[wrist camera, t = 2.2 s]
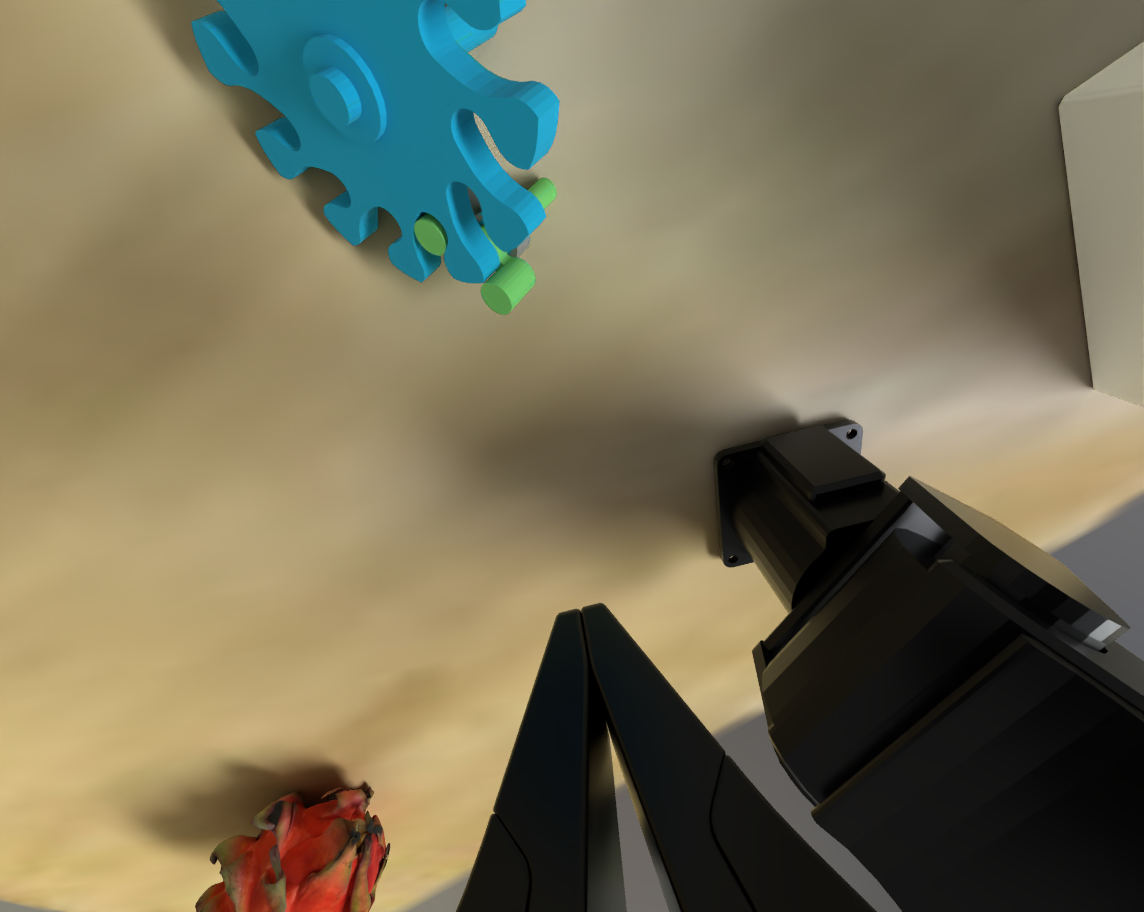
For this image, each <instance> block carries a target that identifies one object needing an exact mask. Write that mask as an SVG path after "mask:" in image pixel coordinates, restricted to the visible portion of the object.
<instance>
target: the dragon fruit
mask: <svg viewBox="0 0 1144 912" xmlns="http://www.w3.org/2000/svg"><path fill="white" fill-rule="evenodd" d="M354 788H355V787H354ZM357 788H358V787H357ZM351 789H352V788H351ZM351 789H350V791H346V790H347V789H343V788H341V787H338V788H335V789H334V790H330V791H328V792H327V793H326V794H325V795H323V796H322V797H321V798H319V799H322V798H324V797H326V796H328V795H331V794H334V795H333V796H331V797H329V796H328V797H329V799H328V802H325V803H321V804H317V805H315V806H312V807H310V808H308V809H305V807H304V806H303V802H302V800H301V798H300V796H299V795H298V794H297V793H296V792H293V793H290V794H288V795H285V796H283V797H282V798H280V799H278V800H277V801H275V802H273V803H271V804H269V805H268V806H267V807H266V808H265V809H264V810H262V811H261V812H260V813H258V814H257V815H256V816H255V817H253V819H252V820H251V823H252V824H253V825H254V826H255V827H257V828H259V829H262V830H261V832H260V834H259V835H258V836H257V838H256V837H247V836H244V835H238V836H235V837H232V838H229V839H227V840H225V841H223V842H222V843H220V844H219V845H218V846H217V847H216V848H215V850H214V851H213V852H212V854H211V856H210V861H211V862H212V864H215V863H216V861H217V859H218V860H219V862H220V864H221V871H220V874H221V875H222V878H223V882H221V883H218V884H215V885H212V886H211V887H209V888H208V889H207V890H206V891H205V892H204V893H203V895H202V896H201V897H200V898H199V900H198V901H197V903H196V905H195V907H196V912H369V910H370V908H371V906H372V904H373V903H374V900H375V891H376V887H377V883H378V881H379V879H380V877H381V874H382V872H383V870H384V868H385V866H386V863H387V859H388V858H387V855H389V851H390V843H388V845H387V848H386V845H385V838H384V832H383V828H382V826H381V823H380V821H379V818H378V816H377V815H374V816H373V817H372V818H371V817H370V815H369V812H368V811H367V812H366V814H365V810H366V808H367V807H368V805H369V804H370V802H369V801H370V798H371V797H372V796H373V794H374V791H373V790H372V789H371V787H370V786H369V788H368V789H367V790H365V792H363V790H361V789H355V790H351ZM344 790H345V791H344ZM383 857H384V858H383ZM386 858H387V859H386Z"/></svg>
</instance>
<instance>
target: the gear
mask: <svg viewBox="0 0 1144 912" xmlns="http://www.w3.org/2000/svg"><path fill="white" fill-rule="evenodd" d="M217 1H218V3H219V4H220V5H221V6H222V7H223V8H224V10H225V11H226V12H225V11H218V12H215V13H212V14H210V15H207V16H205V17H202V18H199V19H197V20H194V21H192V22H191V23H192V28H193V33H194V36H195V39H196V42H197V45H198V47H199V50H200V52H201V55H202V57H203V59H204V61H205V63H206V66H207V68H208V70H209V71H210V73H211V74H212V75H213V76H214V77H215V78H217V79H218V80H219V81H220V82H222V83H223V84H225V85H228V86H234V85H238V86H243V87H245V88H248V89H250V90H252V91H254V92H255V93H257V94H259V95H260V96H262V97H263V98H264V99H266V100H267V101H268V102H269V103H271V104H272V105H273V106H274V107H275V108H277V109H278V110H279V111H280V112H281V113H282V114H283V115H285V116H286V117H287V118H285V117H282V118H279V119H277V120H276V121H274V122H272V123H270V124H268V125H266V126H265V127H263V128H261V129H259V130H258V131H256V134H255V135H256V137H257V139H258V141H259V143H260V145H261V147H262V148H263V150H264V152H265V154H266V155H267V157H268V158H269V160H270V161H271V163H272V164H273V165H274V167H275V168H276V170H277V171H278V173H279V174H280V175H281V176H283V177H284V178H287V179H293V178H295V177H296V176H298V175H299V174H301V173H303V172H304V171H306V170H307V169H309V168H310V167H316V168H319V169H322V170H326V171H328V172H331V173H332V174H334V175H335V176H336V177H337V178H338V179H339V180H340V181H341V182H342V183H343V184H344V186H345V187H346V189H347V190H346V191H345V192H343V193H342V194H341V195H339V196H338V197H336V198H335V199H333V200H332V201H330V202H329V203H328V204H326V205H325V206H324V215H325V216H326V217H327V219H328V220H329V222H330V223H331V224H332V225H333V226H334V227H335V229H336V230H337V231H338V232H339V233H340V234H341V235H342V236H343V237H344V238H345V239H346V240H348V241H349V242H350V243H351V244H352V245H358V244H360V243H361V242H362V241H364V240H365V239H366V238H367V237H369V236H370V235H371V234H372V233H374V232H375V231H376V230H377V229H378V217H377V216H378V208H379V207H381V208H384V209H385V210H387V211H388V212H389V213H390V214H391V215H392V216H393V217H394V218H395V219H396V221H397V222H398V224H399V226H400V228H401V232H402V236H401V237H400V238H399V239H397V240H396V241H395V242H394V243H393V244H391V245H390V246H389V249H388V254H389V258H390V260H391V262H392V264H393V265H394V266H396V267H397V268H398V269H399V270H401V271H402V272H403V273H405V274H407V275H408V276H410V277H412V278H414V279H416V280H418V281H419V282H421V283H422V282H423V281H424V280H425V279H426V278H427V277H428V276H429V275H431V274H432V273H433V272H434V271H435V270H436V269H437V268H438V267H439V266H440V264H441V255H443V254H444V253H445V254H444V261H445V265H446V267H447V269H448V271H449V273H450V274H451V275H452V277H453V278H454V279H456V280H459V281H462V282H466V283H484V282H485V281H486V280H487V279H488V278H489V277H490V276H491V275H492V274H493V273H494V272H495V271H496V272H495V273H494V274H493V275H492V276H491V277H490V278H489V279H488V280H487V281H486V282H485V283H484V284H483V285H482V287H481V295H482V298H483V300H484V302H485V303H486V304H487V305H488V307H489V308H491V309H492V310H493V311H495V312H496V313H499V314H503V315H506V314H508V313H510V312H511V310H512V309H513V308H514V307H515V306H516V305H517V304H518V303H519V302H520V300H521V299H522V298H523V297H524V296H525V295H526V294H527V293H528V292H529V290H530V289H531V288H532V287H533V286H534V284H535V281H536V278H535V274H534V271H533V270H532V268H531V267H530V265H529V264H528V263H527V262H525V261H524V260H523V259H520V258H518V257H519V256H520V255H521V254H522V253H523V252H524V251H525V250H526V249H527V248H528V246H529V242H530V234H531V233H532V232H533V231H534V230H535V229H536V228H537V227H538V226H539V225H540V224H541V222H542V221H543V220H544V219H545V218H546V214H545V211H544V209H545V208H546V207H547V206H548V205H549V204H550V203H551V202H552V201H553V200H554V199H555V198H556V194H557V192H556V188H555V186H554V184H553V183H552V181H550V180H549V179H547V178H541V179H539V180H538V181H537V182H536V183H535V184H534V185H533V186H532V187H531V188H529V189H528V190H527V189H525V188H523V187H522V186H520V185H519V184H518V183H517V182H516V181H514V180H513V179H512V178H511V177H510V176H509V175H508V174H507V173H506V172H505V171H504V170H503V169H502V167H501V166H500V165H499V163H498V162H497V161H496V159H495V158H494V156H493V155H492V153H491V151H490V150H489V148H488V146H487V145H486V143H485V141H484V139H483V137H482V135H481V133H480V131H479V129H478V127H477V125H476V123H475V119H474V114H473V112H474V113H475V114H477V115H478V116H479V117H480V118H481V120H482V121H483V122H484V124H485V125H486V127H487V129H488V131H489V133H490V134H491V136H492V138H493V140H494V142H495V144H496V146H497V148H498V149H499V151H500V153H501V154H502V155H503V156H504V158H505V159H506V160H507V161H509V162H510V163H511V164H512V165H514V166H516V167H518V168H520V169H526V170H528V169H530V168H531V167H532V166H533V165H534V164H535V163H536V162H537V161H539V160H540V159H541V158H542V157H543V156H544V155H545V154H546V153H548V151H549V149H550V147H551V146H552V144H553V141H554V137H555V134H556V129H557V123H558V113H559V102H560V101H559V99H558V98H557V97H556V95H555V94H554V93H553V92H552V91H551V90H550V89H549V88H548V87H547V86H545V85H544V84H542V83H540V82H535V81H528V82H517V81H510V80H507V79H505V78H502V77H499V76H497V75H495V74H494V73H492V72H490V71H489V70H487V69H486V68H485V67H483V66H482V65H481V64H480V63H478V62H477V61H476V60H475V59H474V58H473V57H472V56H471V55H470V54H469V53H468V52H469V51H471V50H472V49H474V48H476V47H477V46H479V45H480V44H482V43H484V42H485V41H487V40H489V39H490V38H492V37H493V36H494V35H495V33H496V31H497V27H498V25H499V24H500V23H502V22H504V21H505V20H507V19H509V18H510V17H512V16H514V15H515V14H517V13H519V12H520V11H521V10H522V9H523V8H524V7H525V6H526V0H217ZM445 3H446V4H447V6H445Z"/></svg>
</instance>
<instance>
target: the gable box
mask: <svg viewBox="0 0 1144 912" xmlns="http://www.w3.org/2000/svg"><path fill="white" fill-rule="evenodd" d="M1059 115H1060V124H1061V132H1062V140H1063V148H1064V156H1065V164H1066V172H1067V180H1068V188H1069V196H1070V204H1071V212H1072V220H1073V228H1074V236H1075V244H1076V252H1077V260H1078V268H1079V276H1080V284H1081V292H1082V300H1083V308H1084V316H1085V324H1086V332H1087V340H1088V348H1089V356H1090V364H1091V372H1092V380H1093V388H1094V390H1096V391H1099V392H1102V393H1105V394H1108V395H1111V396H1113V397H1116V398H1119V399H1122V400H1125V401H1128V402H1131V403H1133V404H1136V405H1139V406H1142V407H1144V41H1143V42H1142V43H1141V44H1139V45H1138V46H1136V47H1135V48H1133V49H1132V50H1130V51H1129V52H1127V53H1126V54H1125V55H1123V56H1122V57H1120V58H1119V59H1117V60H1116V61H1114V62H1113V63H1112V64H1110V65H1109V66H1107V67H1106V68H1104V69H1103V70H1101V71H1100V72H1098V73H1097V74H1096V75H1094V76H1093V77H1091V78H1090V79H1088V80H1087V81H1085V82H1084V83H1083V84H1081V85H1080V86H1078V87H1077V88H1075V89H1074V90H1072V91H1071V92H1069V93H1068V94H1067V95H1065V96H1064V98H1063V99H1062V100H1061V103H1060V104H1059Z"/></svg>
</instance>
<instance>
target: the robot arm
mask: <svg viewBox="0 0 1144 912" xmlns="http://www.w3.org/2000/svg"><path fill="white" fill-rule="evenodd" d="M851 429H852V430H851ZM849 430H851V432H850V433H849V434H847V432H848V431H849ZM846 434H847V435H846ZM862 435H863V428H862V427H861V425H859V424H858V423H857V422H855V421H853V420H845V421H841V422H837V423H833V424H829V425H825V426H821V425H818V426H814V427H809V428H805V429H801V430H797V431H793V432H789V433H785V434H781V435H776V436H772V437H768V438H766V439H764V440H763V441H759V442H755V443H751V444H747V445H742V446H738V447H734V448H730V449H726V450H723V451H720V452H719V453H718V454H717V455H716V456H715V458H714V476H715V490H716V504H717V518H718V532H719V546H720V557H721V560H722V561H723V563H724V565H725V566H727V567H736V566H740V565H744V564H748V563H752V562H755V564H756V565H757V567H758V568H759V570H760V571H761V573H762V574H763V576H764V577H765V579H766V580H767V582H768V583H769V585H770V586H771V588H772V589H773V591H774V592H775V594H776V595H777V597H778V598H779V600H780V601H781V603H782V604H783V606H784V607H785V609H786V610H787V612H788V613H789V614H788V615H787V616H786V617H785V619H784V620H783V621H782V622H781V623H780V624H779V625H778V626H777V627H776V629H775V630H774V631H773V632H772V633H771V634H770V635H769V636H768V637H767V638H766V640H765V641H762V640H761V641H760V642H759V643H758V644H757V645H756V646H755V648H754V649H753V650H752V653H753V658H754V663H755V668H756V672H757V677H758V682H759V686H760V691H761V696H762V700H763V705H764V710H765V714H766V719H767V724H768V733H769V737H770V741H771V743H772V744H773V747H774V750H775V752H776V754H777V757H778V759H779V762H780V764H781V765H782V767H783V768H784V769H785V771H786V772H787V774H788V776H789V777H790V779H791V780H792V781H793V783H794V784H795V785H796V786H797V788H798V789H799V790H800V791H801V793H802V794H803V795H804V796H805V797H806V798H807V799H808V800H809V801H810V802H811V803H812V804H813V805H814V806H815V808H813V809H812V811H811V814H812V817H813V819H814V821H815V822H816V823H817V824H818V825H819V826H820V827H821V828H823V829H824V830H825V831H826V832H828V833H829V834H830V835H831V836H832V837H834V838H835V839H836V840H837V841H838V842H840V843H841V844H842V845H844V846H845V847H846V848H847V849H848V850H849V851H850V852H851V853H852V854H853V855H854V856H855V857H856V858H857V859H858V860H859V861H860V862H861V863H862V864H863V866H864V867H865V868H866V869H867V870H868V871H869V872H870V873H871V874H872V875H873V876H874V877H875V878H876V879H877V880H878V881H879V883H880V884H881V885H882V887H883V888H884V889H885V890H886V891H887V893H888V894H889V895H890V896H891V898H892V899H893V900H894V901H895V902H896V904H897V905H898V907H899V908H900V909H901V910H902V912H1144V661H1143V660H1142V659H1140V658H1139V657H1137V656H1136V655H1134V654H1133V653H1131V652H1130V651H1129V650H1127V649H1126V648H1124V647H1123V646H1121V645H1120V644H1119V643H1117V642H1116V641H1115V640H1116V639H1117V638H1119V637H1120V636H1121V635H1122V634H1124V633H1125V632H1126V631H1128V630H1129V629H1130V628H1131V627H1130V626H1129V625H1128V624H1127V623H1126V622H1125V621H1124V620H1123V619H1122V618H1121V617H1120V616H1119V615H1118V614H1116V613H1115V612H1114V611H1113V610H1112V609H1111V608H1110V607H1109V606H1108V605H1107V604H1106V603H1105V602H1103V601H1102V600H1101V599H1100V598H1099V597H1098V596H1097V595H1096V594H1095V593H1094V592H1093V591H1092V590H1090V588H1088V587H1087V586H1086V585H1085V584H1084V583H1083V582H1082V581H1081V580H1080V579H1079V578H1078V577H1077V576H1075V575H1074V574H1073V573H1072V572H1071V571H1070V570H1069V569H1068V568H1067V567H1066V566H1065V565H1064V564H1062V563H1061V562H1060V561H1058V560H1056V559H1055V558H1054V557H1052V556H1051V555H1049V554H1047V553H1046V552H1044V551H1043V550H1041V549H1040V548H1038V547H1037V546H1035V545H1034V544H1032V543H1030V542H1029V541H1027V540H1026V539H1024V538H1023V537H1021V536H1020V535H1018V534H1017V533H1015V532H1013V531H1012V530H1010V529H1009V528H1007V527H1006V526H1004V525H1003V524H1001V523H1000V522H998V521H996V520H995V519H993V518H991V517H989V516H987V515H985V514H983V513H981V512H979V511H977V510H975V509H973V508H972V507H970V506H968V505H966V504H964V503H962V502H960V501H958V500H956V499H954V498H952V497H950V496H948V495H946V494H944V493H942V492H940V491H939V490H937V489H935V488H933V487H931V486H929V485H927V484H925V483H923V482H921V481H919V480H917V479H915V478H913V477H911V476H909V477H908V478H907V479H906V480H905V482H904V483H903V484H902V485H901V486H900V487H899V488H898V489H899V490H900V491H898V490H897V489H896V488H895V487H893V486H892V485H891V484H889V483H888V482H887V481H886V480H885V477H886V474H885V473H884V472H883V471H881V470H880V469H879V468H877V467H876V466H875V465H873V464H872V463H871V462H870V461H868V460H867V459H866V458H864V457H863V456H862V455H861V445H862ZM727 459H730V461H729V462H728V463H727V464H725V465H723V462H724V461H725V460H727ZM733 555H734V556H733ZM731 556H733V557H732V558H730V557H731ZM608 729H609V732H608ZM609 733H610V736H611V739H612V743H613V746H614V749H615V752H616V755H617V758H618V761H619V764H620V767H621V770H622V773H623V776H624V779H625V782H626V785H627V788H628V791H629V794H630V797H631V800H632V803H633V806H634V808H635V812H636V814H637V817H638V820H639V823H640V826H641V829H642V832H643V835H644V838H645V841H646V844H647V847H648V850H649V853H650V856H651V859H652V862H653V865H654V868H655V871H656V874H657V877H658V880H659V883H660V886H661V889H662V892H663V895H664V898H665V900H666V903H667V906H668V909H669V912H876V910H875V909H873V908H872V907H871V906H870V905H869V904H868V903H867V902H866V901H865V900H864V899H863V898H862V897H861V896H860V895H859V894H858V893H857V892H856V891H855V890H854V889H853V888H852V887H851V886H850V885H849V884H848V883H847V882H846V881H845V880H844V879H843V878H842V877H841V876H840V875H839V874H838V873H837V872H836V871H835V870H834V869H833V868H832V867H831V866H830V865H829V864H828V863H827V862H826V861H825V860H824V859H823V858H822V857H821V856H820V855H819V854H818V853H817V852H815V850H814V849H812V847H811V846H809V845H808V844H807V842H806V841H805V840H804V839H803V838H802V837H801V836H800V835H799V834H798V833H797V832H796V831H795V830H794V829H793V828H792V827H791V826H790V825H789V824H788V823H787V822H786V821H785V820H784V818H783V817H782V816H781V815H780V814H779V813H778V812H777V811H776V810H775V809H774V808H773V807H772V806H771V804H770V803H769V802H768V801H767V800H766V799H765V798H764V796H762V794H761V793H760V792H759V791H758V790H757V789H756V787H755V786H754V785H753V784H752V783H751V782H750V780H749V779H748V778H747V777H746V776H745V775H744V773H743V772H742V771H741V770H740V769H739V767H738V766H737V765H736V764H735V762H734V761H733V760H732V759H731V758H730V757H729V756H728V755H725V751H724V749H723V748H722V747H721V746H720V745H719V743H718V742H717V741H716V740H715V738H714V737H713V736H712V735H711V733H710V732H709V731H708V730H707V729H706V727H705V726H704V725H703V724H702V722H701V721H700V720H699V719H698V718H697V716H696V715H695V714H694V713H693V712H692V710H691V709H690V708H689V707H688V705H687V704H686V703H685V702H684V701H683V699H682V698H681V697H680V696H679V694H678V693H677V692H676V691H675V690H674V688H673V687H672V686H671V685H670V683H669V682H668V681H667V680H666V679H665V677H664V676H663V675H662V674H661V673H660V671H659V670H658V669H657V668H656V666H655V665H654V664H653V663H652V662H651V660H650V659H649V658H648V657H647V655H646V654H645V653H644V652H643V651H642V649H641V648H640V647H639V646H638V644H637V643H636V642H635V641H634V640H633V638H632V637H631V636H630V635H629V634H628V632H627V631H626V630H625V629H624V627H623V626H622V625H621V624H620V623H619V621H618V620H617V619H616V618H615V616H614V615H613V614H612V613H611V612H610V610H609V609H608V608H607V607H606V606H605V605H604V604H603V603H598V604H593V605H589V606H585V607H583V608H582V610H581V611H580V610H579V609H573V610H569V611H565V612H561V613H559V614H558V615H557V617H556V619H555V622H554V625H553V628H552V631H551V634H550V637H549V640H548V643H547V646H546V649H545V652H544V655H543V658H542V662H541V665H540V668H539V671H538V674H537V677H536V680H535V683H534V686H533V689H532V692H531V695H530V698H529V701H528V704H527V707H526V710H525V713H524V716H523V719H522V722H521V725H520V729H519V732H518V735H517V738H516V741H515V744H514V747H513V750H512V753H511V756H510V759H509V762H508V765H507V768H506V771H505V774H504V777H503V780H502V783H501V786H500V789H499V792H498V795H497V799H496V802H495V805H494V808H493V811H494V813H495V814H492V815H491V816H490V819H489V822H488V825H487V828H486V831H485V834H484V837H483V840H482V843H481V846H480V849H479V852H478V855H477V858H476V860H475V863H474V866H473V869H472V872H471V874H470V877H469V880H468V883H467V886H466V888H465V891H464V893H463V896H462V898H461V900H460V903H459V905H458V908H457V910H456V912H627V909H626V899H625V888H624V878H623V868H622V857H621V847H620V837H619V827H618V817H617V806H616V796H615V785H614V775H613V765H612V755H611V746H610V738H609Z"/></svg>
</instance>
